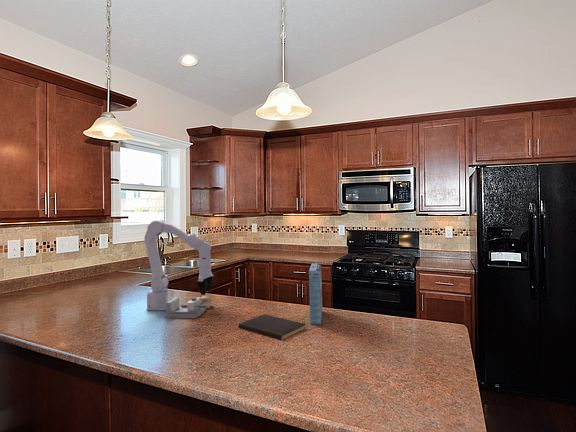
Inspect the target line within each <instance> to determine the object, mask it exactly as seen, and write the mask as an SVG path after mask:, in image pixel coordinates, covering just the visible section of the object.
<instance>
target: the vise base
mask: <svg viewBox="0 0 576 432" xmlns="http://www.w3.org/2000/svg"><path fill="white" fill-rule="evenodd" d="M206 309H207V308H206V305H201V308H199V309H198V310H197V311H187V304H185V303H184V304H182V303H181V305H180V297H179V296H174V297H173V298H172V299H170V300H168V302H166V310H165V315H164V316H165V318H169V317H170V318H173V319H174V317H176V318H177V317H178V318H177V319H179V318H180V319H181V318H183V319H184V318H185V319H197V317H198V316H199V317H200V316H201V315H202V314H203V313H205V311H206ZM199 317H198V318H199Z"/></svg>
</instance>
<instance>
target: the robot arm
mask: <svg viewBox="0 0 576 432" xmlns="http://www.w3.org/2000/svg"><path fill="white" fill-rule="evenodd" d="M163 233H170V234H171V235H174V236H175V237H178V238H180V239H182V240H183V241H184V244H185V245H187V246H189V247H191V248H192V249H194V250H196V251H197V252H198V253H199V254H198V255H199V257H198V264H199V265H198V266H199V267H198V268H199V275H198V280H196V281H195V282H196V285H197V286H198V290H199V293H200V295H202V296H206V294H207V292H211V289H212V284H213V281H214V279H215V276H214V274H213V273H212V261H211V260H212V259H211V258H212V257H211V250H212V245H211V243H209V241H205V239H201V238H200V237H197V235H196V234H195V233H190V234H187V233H186V232H184V231H183V230H181V229H179V228H178V227H177V226H175V225H173V224H171V223H169V222H167V221H165V220H163V219H159V220H153V221H151V222H150V223H149V224H148V225H147V229H146V232H145V235H144V237H143V238H144V244H145V248H146V252H147V256H148V257H147V258H148V263H149V265H150V270H151V277H150V279H151V280H150V281H151V283H150V288H151V290H149V291H148V292H147V295H146V311H166V302H168V301H169V291H168V290H169V289H168V286H169V281H170V280H169V278H168V277H167V275H166V272H165V271H164V270H163V264H162V260H161V256H160V252H159V248H158V244H157V240H158V238H159V237H160V235H161V234H163Z"/></svg>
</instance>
